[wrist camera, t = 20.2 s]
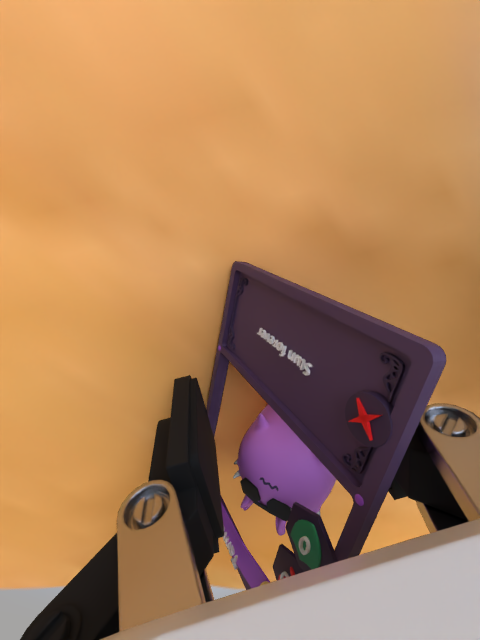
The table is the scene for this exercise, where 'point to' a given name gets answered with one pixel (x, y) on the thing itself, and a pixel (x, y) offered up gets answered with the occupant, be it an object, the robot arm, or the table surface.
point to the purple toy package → (316, 413)
